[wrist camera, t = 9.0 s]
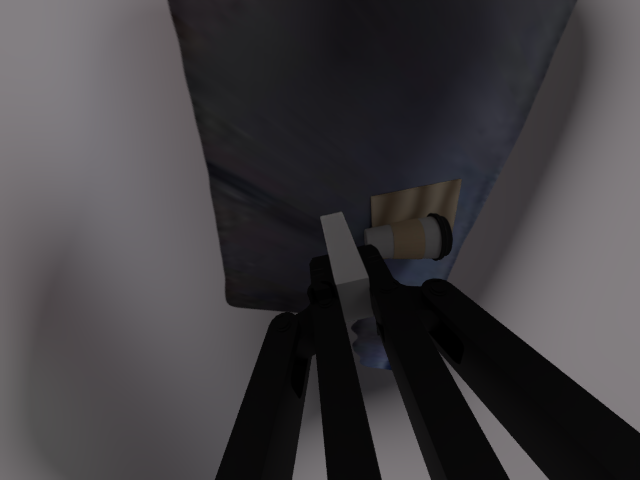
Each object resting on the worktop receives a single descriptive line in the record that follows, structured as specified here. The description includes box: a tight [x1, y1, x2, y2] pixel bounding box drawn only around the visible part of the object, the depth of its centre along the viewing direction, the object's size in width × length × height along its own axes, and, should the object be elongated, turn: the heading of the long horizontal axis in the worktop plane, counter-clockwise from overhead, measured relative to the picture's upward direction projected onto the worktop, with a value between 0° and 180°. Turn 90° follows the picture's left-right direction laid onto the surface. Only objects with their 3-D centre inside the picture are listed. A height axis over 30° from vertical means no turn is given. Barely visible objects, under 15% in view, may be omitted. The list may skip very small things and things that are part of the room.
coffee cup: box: [364, 213, 453, 261], centre depth 46 cm, size 9×9×15 cm
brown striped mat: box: [371, 179, 462, 259], centre depth 49 cm, size 18×16×1 cm
